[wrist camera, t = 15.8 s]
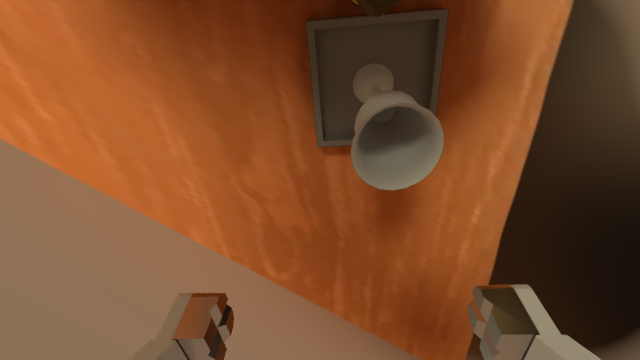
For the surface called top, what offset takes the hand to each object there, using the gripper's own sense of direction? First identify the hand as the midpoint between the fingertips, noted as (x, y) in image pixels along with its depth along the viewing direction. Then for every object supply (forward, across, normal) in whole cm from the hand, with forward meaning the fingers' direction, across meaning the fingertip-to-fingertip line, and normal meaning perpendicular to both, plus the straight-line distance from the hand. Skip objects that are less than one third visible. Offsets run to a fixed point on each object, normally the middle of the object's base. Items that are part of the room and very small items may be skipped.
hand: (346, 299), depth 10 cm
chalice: (+33, -4, +3) cm, 33 cm away
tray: (+33, -4, +2) cm, 34 cm away
